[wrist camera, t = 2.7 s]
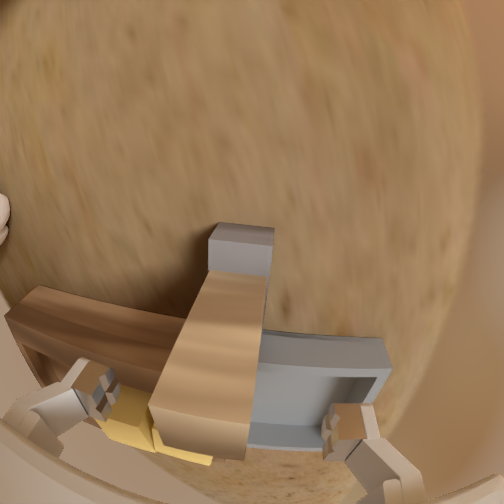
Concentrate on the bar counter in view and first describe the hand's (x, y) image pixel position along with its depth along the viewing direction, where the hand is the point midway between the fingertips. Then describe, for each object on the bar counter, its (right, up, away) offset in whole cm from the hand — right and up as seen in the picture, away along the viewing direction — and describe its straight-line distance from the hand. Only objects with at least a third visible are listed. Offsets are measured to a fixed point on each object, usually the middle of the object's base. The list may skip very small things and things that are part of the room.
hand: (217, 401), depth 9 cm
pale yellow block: (-7, -6, +8) cm, 12 cm away
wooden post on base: (+1, +4, +7) cm, 9 cm away
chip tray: (+5, -6, +11) cm, 14 cm away
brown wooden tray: (-9, -4, +12) cm, 16 cm away
